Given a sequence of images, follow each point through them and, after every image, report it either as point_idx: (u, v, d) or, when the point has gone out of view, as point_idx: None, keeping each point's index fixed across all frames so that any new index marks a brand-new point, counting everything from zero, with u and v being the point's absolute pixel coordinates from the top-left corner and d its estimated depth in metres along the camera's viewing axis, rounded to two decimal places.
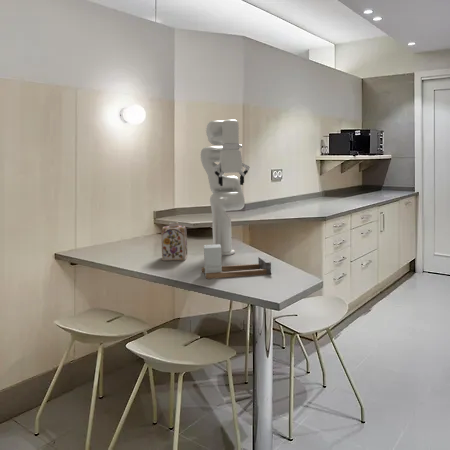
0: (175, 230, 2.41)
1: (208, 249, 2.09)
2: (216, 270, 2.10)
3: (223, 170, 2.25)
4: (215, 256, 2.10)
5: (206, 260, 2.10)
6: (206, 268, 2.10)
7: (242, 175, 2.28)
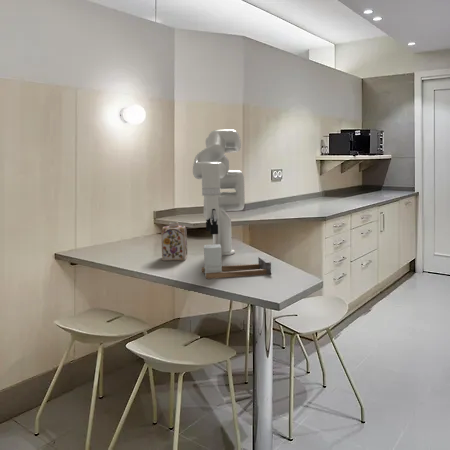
0: (175, 230, 2.41)
1: (208, 249, 2.09)
2: (216, 270, 2.10)
3: (218, 216, 2.07)
4: (215, 256, 2.10)
5: (206, 260, 2.10)
6: (206, 268, 2.10)
7: None
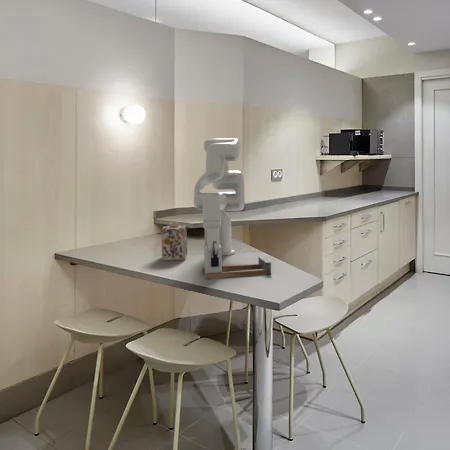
0: (175, 230, 2.41)
1: None
2: (216, 270, 2.10)
3: None
4: None
5: (206, 260, 2.10)
6: (206, 268, 2.10)
7: None
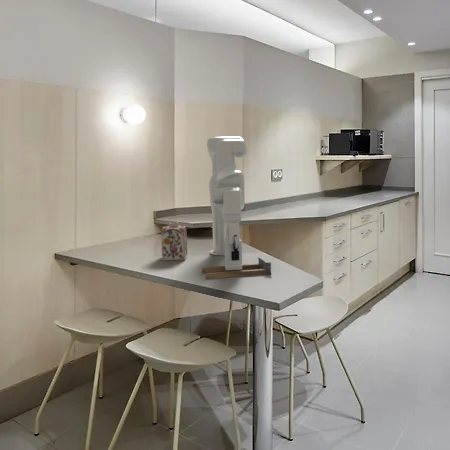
0: (175, 230, 2.41)
1: None
2: (236, 263, 2.12)
3: (239, 242, 2.11)
4: None
5: (227, 253, 2.11)
6: (227, 261, 2.12)
7: None
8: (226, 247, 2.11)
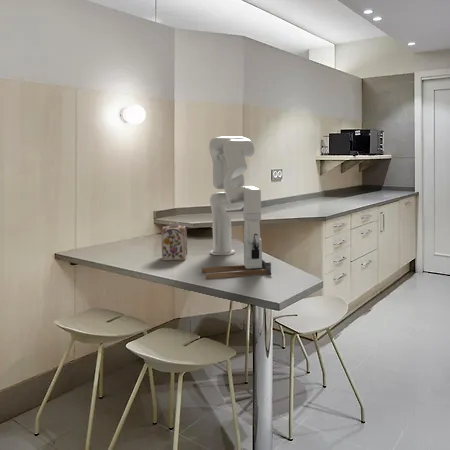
0: (175, 230, 2.41)
1: None
2: (256, 262, 2.14)
3: (259, 241, 2.13)
4: None
5: (247, 252, 2.13)
6: (247, 260, 2.14)
7: None
8: (246, 246, 2.13)
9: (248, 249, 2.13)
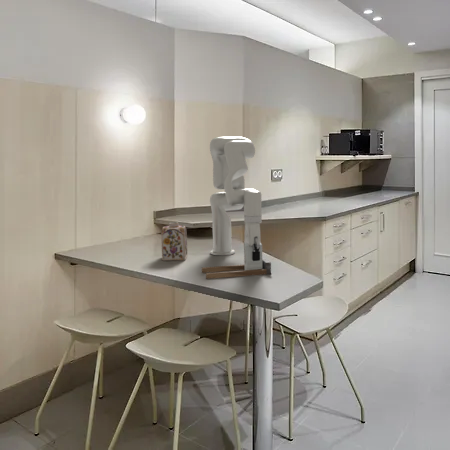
0: (175, 230, 2.41)
1: None
2: (257, 267, 2.14)
3: None
4: None
5: (247, 257, 2.14)
6: (247, 265, 2.14)
7: None
8: (247, 251, 2.13)
9: (249, 254, 2.13)
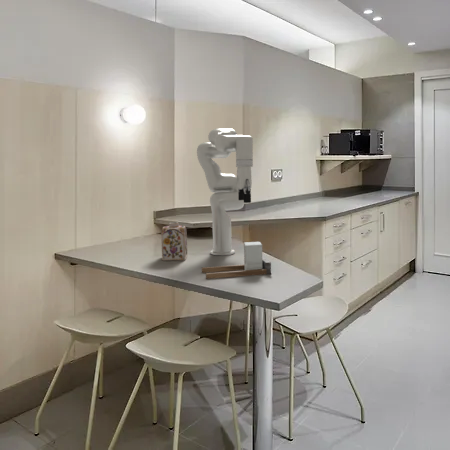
0: (175, 230, 2.41)
1: (249, 246, 2.13)
2: (257, 267, 2.14)
3: None
4: (256, 253, 2.14)
5: (247, 257, 2.14)
6: (247, 265, 2.14)
7: None
8: (247, 251, 2.13)
9: (249, 254, 2.13)
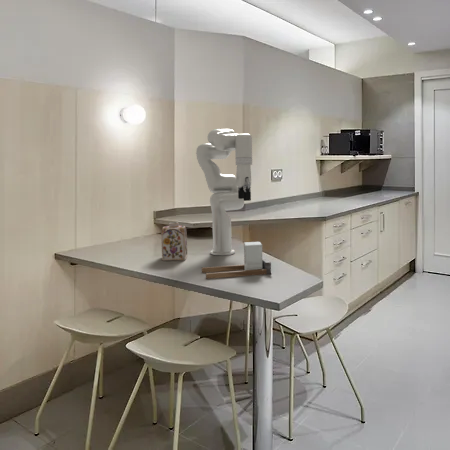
0: (175, 230, 2.41)
1: (249, 246, 2.13)
2: (257, 267, 2.14)
3: (250, 184, 2.23)
4: (256, 253, 2.14)
5: (247, 257, 2.14)
6: (247, 265, 2.14)
7: None
8: (247, 251, 2.13)
9: (249, 254, 2.13)
